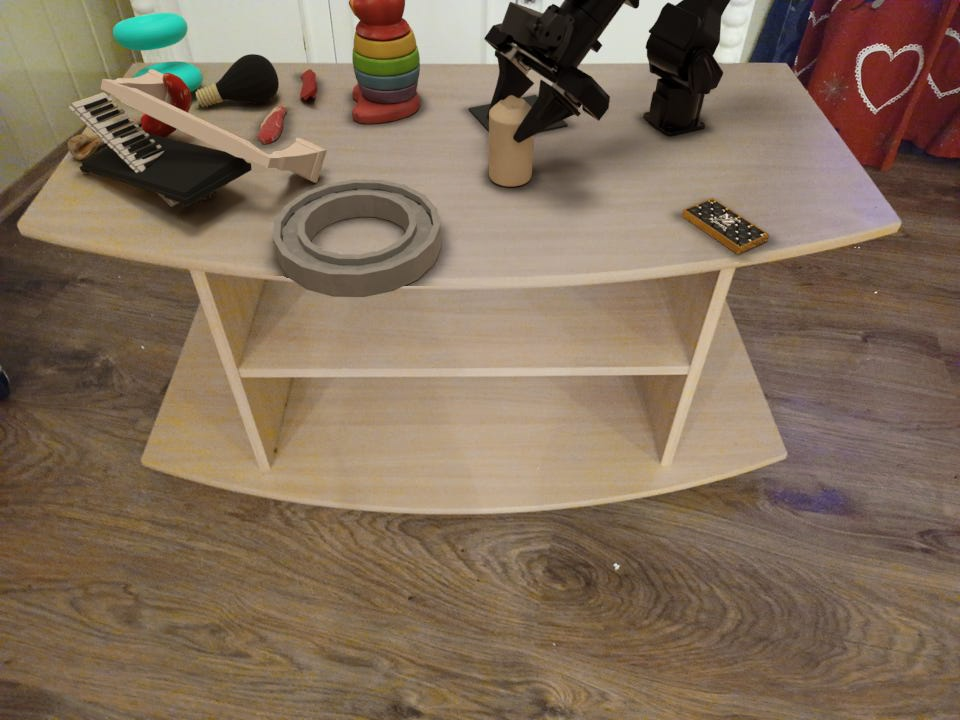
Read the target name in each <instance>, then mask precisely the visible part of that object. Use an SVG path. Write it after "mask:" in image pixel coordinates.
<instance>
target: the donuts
mask: <svg viewBox="0 0 960 720" xmlns="http://www.w3.org/2000/svg"><path fill="white" fill-rule="evenodd" d="M188 29H189V27H188V23H187V21H186V19H185V18H184V17H183V16H182V15H180V14H177V13H173V12H157V13H156V12H155V13H150V14H149V13H148V14H143V15H137V16H133V17H129V18H125V19H123V20H121V21H118V22H117V23H116V24H115V25H114V26H113V28H112V36H113V38H114V40H115V42H116V43H117V44H118V45H119V46H121V47H122V48H125V49H128V50H131V51H153V50H160V49H164V48H167V47H168V48H169V47H171V46H173V45H176V44H178V43H180V42H182V40H183V39H184V38H185V36H186V35H187V34H188ZM150 69H153V70H156V71H158V72H160V73H162V74H165V73H171V74H174V75H176V76H178V77H180V78H181V79H182V80H183V81H184V82H185V83H186V85H187V86H188V88H189V90H190V93H193V92H194V91H197V89H199V88H201V86H202V83H203V81H204V78H203V73H202V71H201V70H200V69H199V68H198V67H197V66H195V65H194V64H192V63H190V62H185V61H177V60H176V61H165V62H159V63H155V64H151V65H148V66H146V67H143V68H141V69H140V70H138V71H137V72H135V74H134V75H133V76H132V78H136V77H139V76H142V75H144V74H146V73H148V71H149V70H150Z"/></svg>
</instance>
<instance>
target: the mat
mask: <svg viewBox="0 0 960 720" xmlns="http://www.w3.org/2000/svg"><path fill="white" fill-rule="evenodd" d="M521 98H523V99H524V100H525V101H526V102H527V103H528V104H529V105H530V106H531V107H532V106H533V104H534V103H535V101H536V100H537V98H538V95H536V94H533V95H528V96H521ZM490 104H491V103H487V104H482V105H477V106H472V107H468V111H469V112H470V113H471V114H472V116H474V118H475V119H476V120H477V121H478V122H479V123H480V124H481V125H482V126H483V128H485V129H486V131H487V132H489V121H488V120H487V114H488V111H489V108H490ZM568 126H569V124H568V123H567V122H566V121H565V119H564V120H562V121H560V122H557V123H555V124H553V125H551V126H549V127H547V128H545V129H544V130H542V131H540V132H539V133H541V132H547V131H551V130H552V131H553V130H555V129H556V130H557V129H561V128H565V127H568Z"/></svg>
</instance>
